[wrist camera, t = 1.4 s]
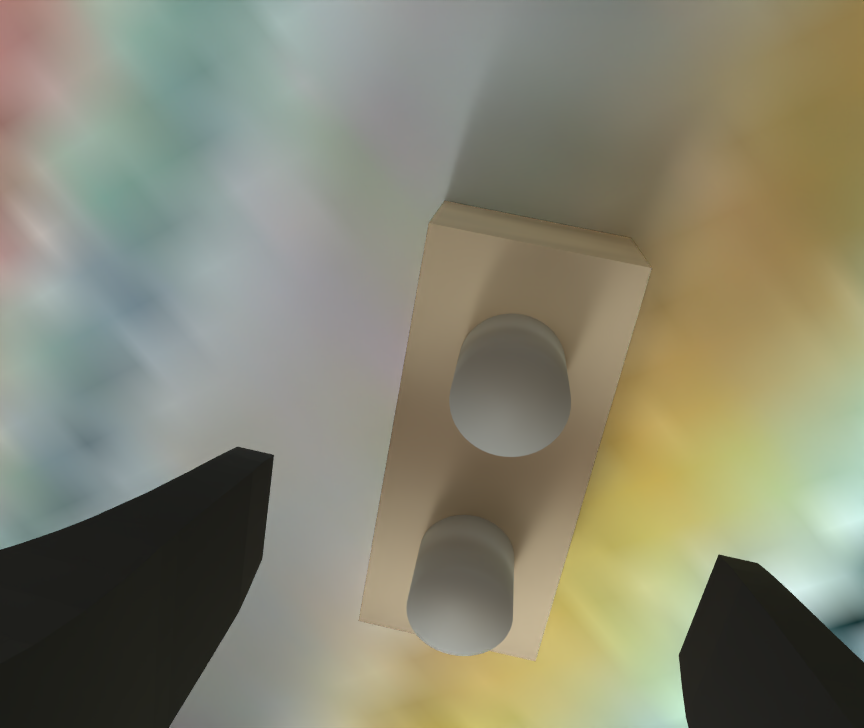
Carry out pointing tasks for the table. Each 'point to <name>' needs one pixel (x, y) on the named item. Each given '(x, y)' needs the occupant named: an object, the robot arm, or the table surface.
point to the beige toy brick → (497, 425)
